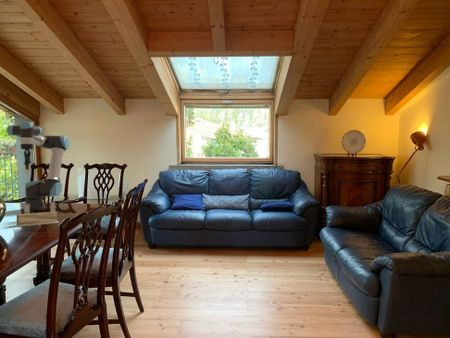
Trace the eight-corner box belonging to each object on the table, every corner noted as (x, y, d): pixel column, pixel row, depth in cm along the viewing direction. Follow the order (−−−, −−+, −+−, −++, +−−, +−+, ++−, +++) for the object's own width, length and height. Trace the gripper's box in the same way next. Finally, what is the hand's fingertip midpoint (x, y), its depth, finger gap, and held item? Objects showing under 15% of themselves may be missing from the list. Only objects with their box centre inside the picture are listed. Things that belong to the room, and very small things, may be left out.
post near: (23, 219, 219) (22, 203, 219) (31, 218, 222) (31, 203, 221) (22, 221, 214) (22, 205, 213) (31, 220, 217) (30, 204, 216)
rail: (17, 223, 206) (17, 214, 206) (58, 219, 218) (58, 211, 218) (16, 224, 203) (16, 215, 202) (58, 220, 215) (58, 212, 214)
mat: (17, 223, 209) (17, 222, 209) (58, 219, 221) (58, 218, 221) (16, 227, 200) (16, 226, 200) (58, 222, 212) (58, 222, 212)
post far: (49, 217, 227) (48, 202, 226) (57, 216, 230) (56, 201, 229) (49, 219, 222) (48, 203, 221) (57, 218, 225) (56, 202, 224)
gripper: (22, 143, 230) (23, 171, 232) (19, 143, 209) (20, 174, 210) (33, 143, 234) (34, 171, 236) (32, 143, 212) (33, 174, 214)
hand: (28, 173), depth 223 cm, fingers open, 13 cm apart
